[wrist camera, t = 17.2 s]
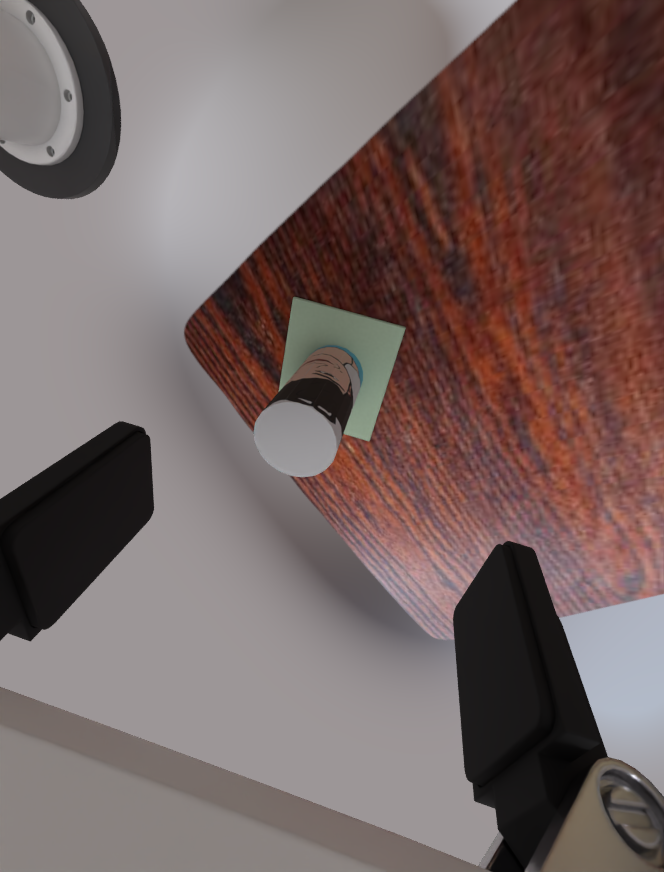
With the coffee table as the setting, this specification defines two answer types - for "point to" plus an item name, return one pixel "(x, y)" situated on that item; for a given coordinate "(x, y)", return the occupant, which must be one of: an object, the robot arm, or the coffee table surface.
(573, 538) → the coffee table surface
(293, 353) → the mat
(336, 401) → the cup
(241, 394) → the coffee table surface
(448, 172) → the coffee table surface
